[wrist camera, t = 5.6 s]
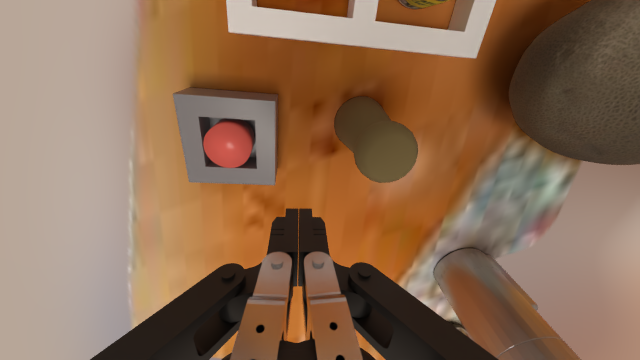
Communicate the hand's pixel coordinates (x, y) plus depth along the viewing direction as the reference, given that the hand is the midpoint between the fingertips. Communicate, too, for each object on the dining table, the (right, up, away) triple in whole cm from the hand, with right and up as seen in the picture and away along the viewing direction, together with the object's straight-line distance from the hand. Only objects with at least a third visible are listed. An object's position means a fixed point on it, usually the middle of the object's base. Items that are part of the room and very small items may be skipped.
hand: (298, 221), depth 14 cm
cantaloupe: (+25, +15, +13) cm, 32 cm away
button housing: (-8, +8, +13) cm, 17 cm away
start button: (-8, +7, +12) cm, 16 cm away
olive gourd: (+6, +9, +14) cm, 18 cm away
